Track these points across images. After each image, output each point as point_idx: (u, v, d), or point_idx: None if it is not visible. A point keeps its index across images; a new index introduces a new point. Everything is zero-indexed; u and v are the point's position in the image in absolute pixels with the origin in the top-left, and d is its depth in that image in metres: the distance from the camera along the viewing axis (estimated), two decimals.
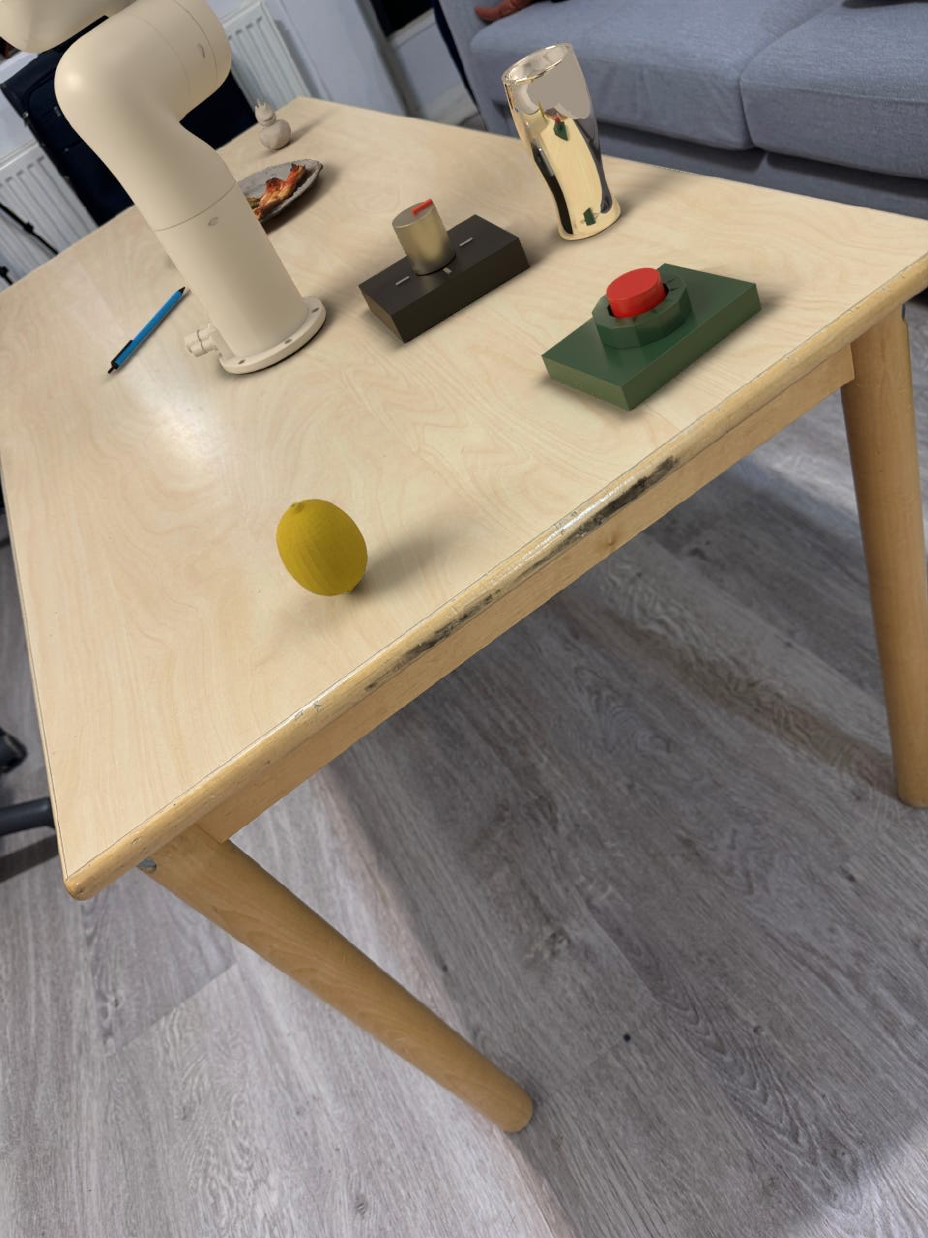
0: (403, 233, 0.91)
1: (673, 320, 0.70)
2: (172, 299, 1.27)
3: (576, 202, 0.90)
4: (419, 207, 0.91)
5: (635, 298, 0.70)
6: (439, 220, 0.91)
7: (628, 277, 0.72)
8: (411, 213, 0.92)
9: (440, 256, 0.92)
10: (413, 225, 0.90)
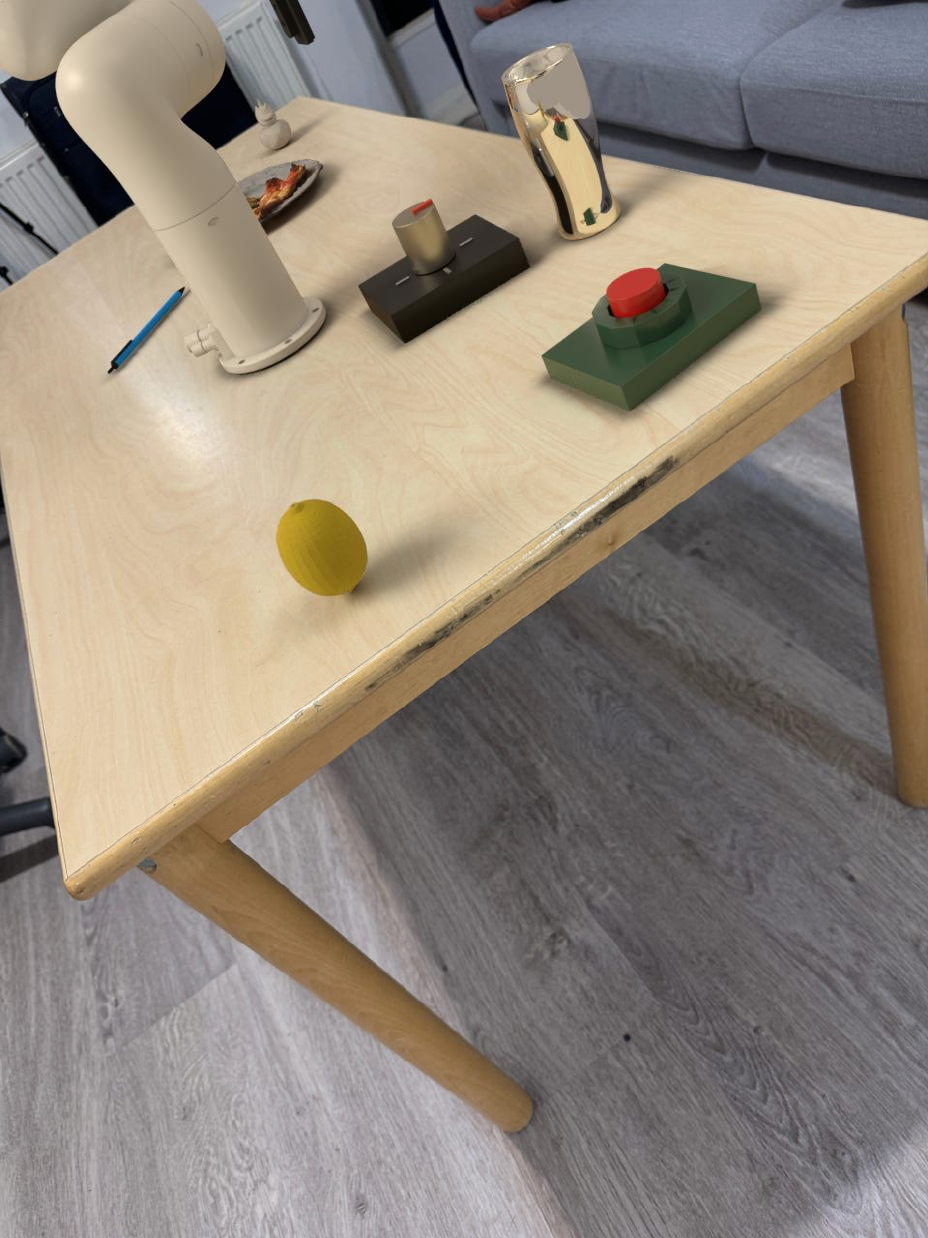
0: (403, 233, 0.91)
1: (673, 320, 0.70)
2: (172, 299, 1.27)
3: (576, 202, 0.90)
4: (419, 207, 0.91)
5: (635, 298, 0.70)
6: (439, 220, 0.91)
7: (628, 277, 0.72)
8: (411, 213, 0.92)
9: (440, 256, 0.92)
10: (413, 225, 0.90)
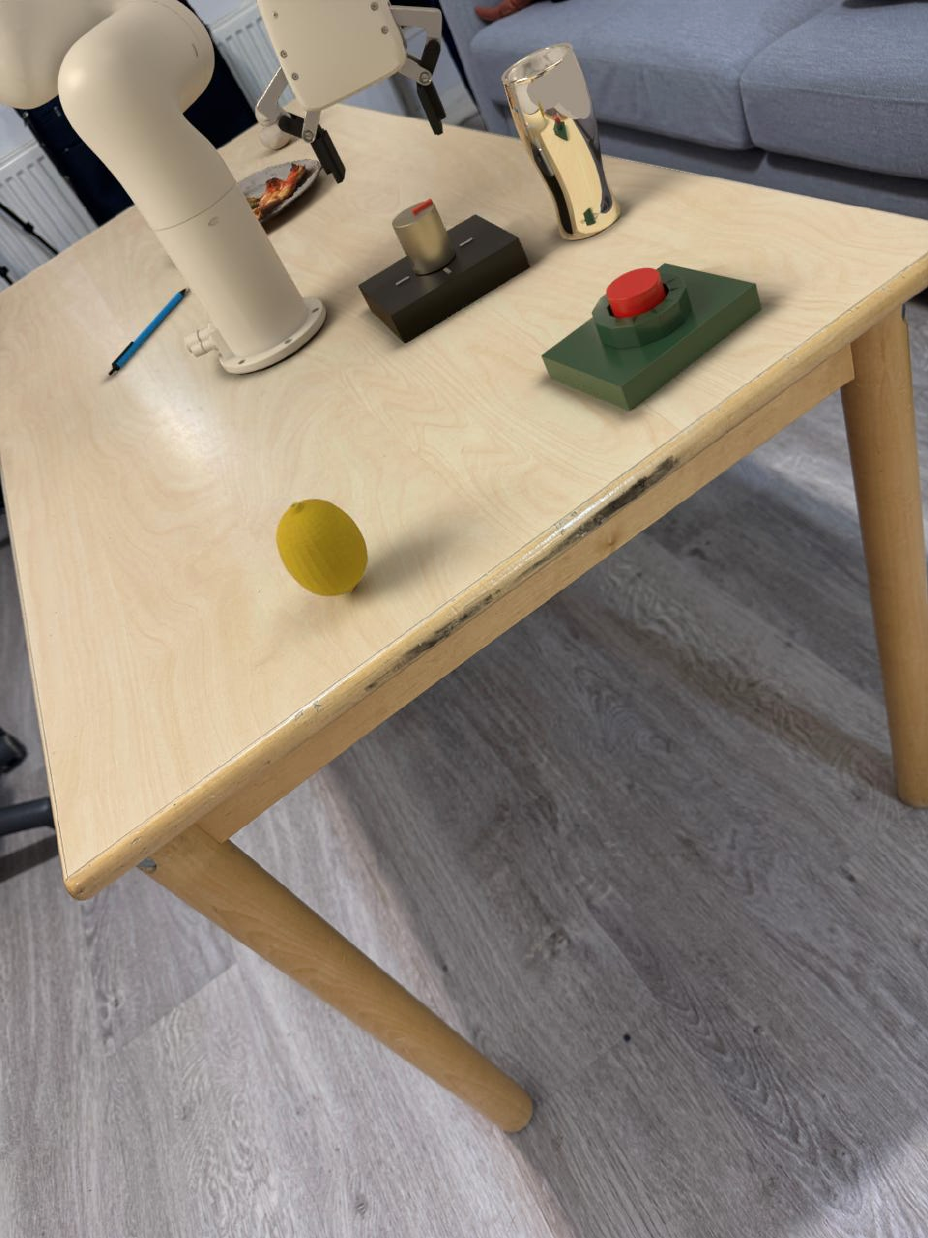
0: (403, 233, 0.91)
1: (673, 320, 0.70)
2: (173, 301, 1.27)
3: (576, 202, 0.90)
4: (419, 207, 0.91)
5: (635, 298, 0.70)
6: (439, 220, 0.91)
7: (628, 277, 0.72)
8: (411, 213, 0.92)
9: (440, 256, 0.92)
10: (413, 225, 0.90)
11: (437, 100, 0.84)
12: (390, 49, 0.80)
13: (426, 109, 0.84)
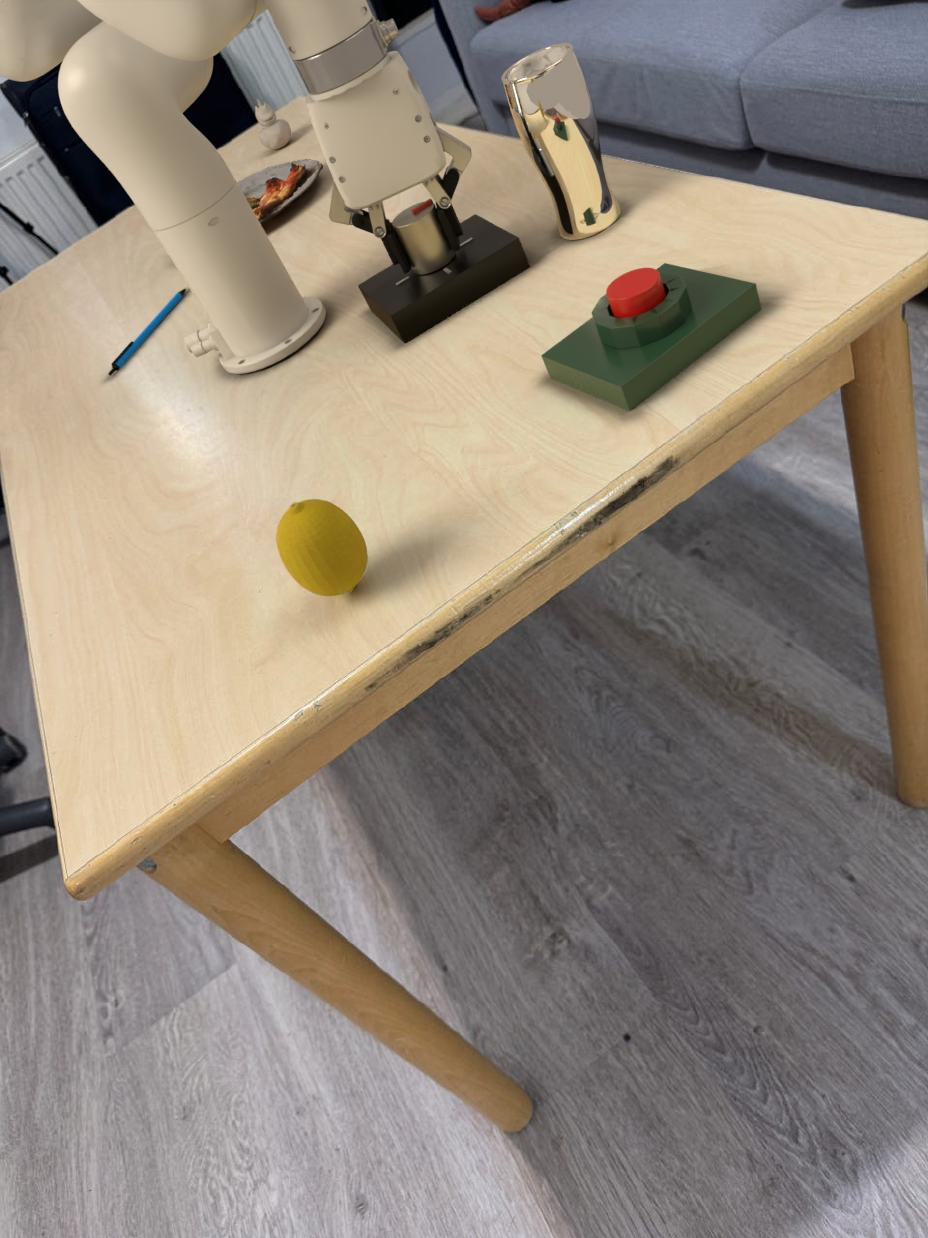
0: (403, 233, 0.91)
1: (673, 320, 0.70)
2: (172, 301, 1.27)
3: (576, 202, 0.90)
4: (419, 207, 0.91)
5: (635, 298, 0.70)
6: None
7: (628, 277, 0.72)
8: (411, 213, 0.92)
9: (440, 256, 0.92)
10: (413, 225, 0.90)
11: (455, 220, 0.91)
12: (431, 156, 0.86)
13: (445, 228, 0.91)
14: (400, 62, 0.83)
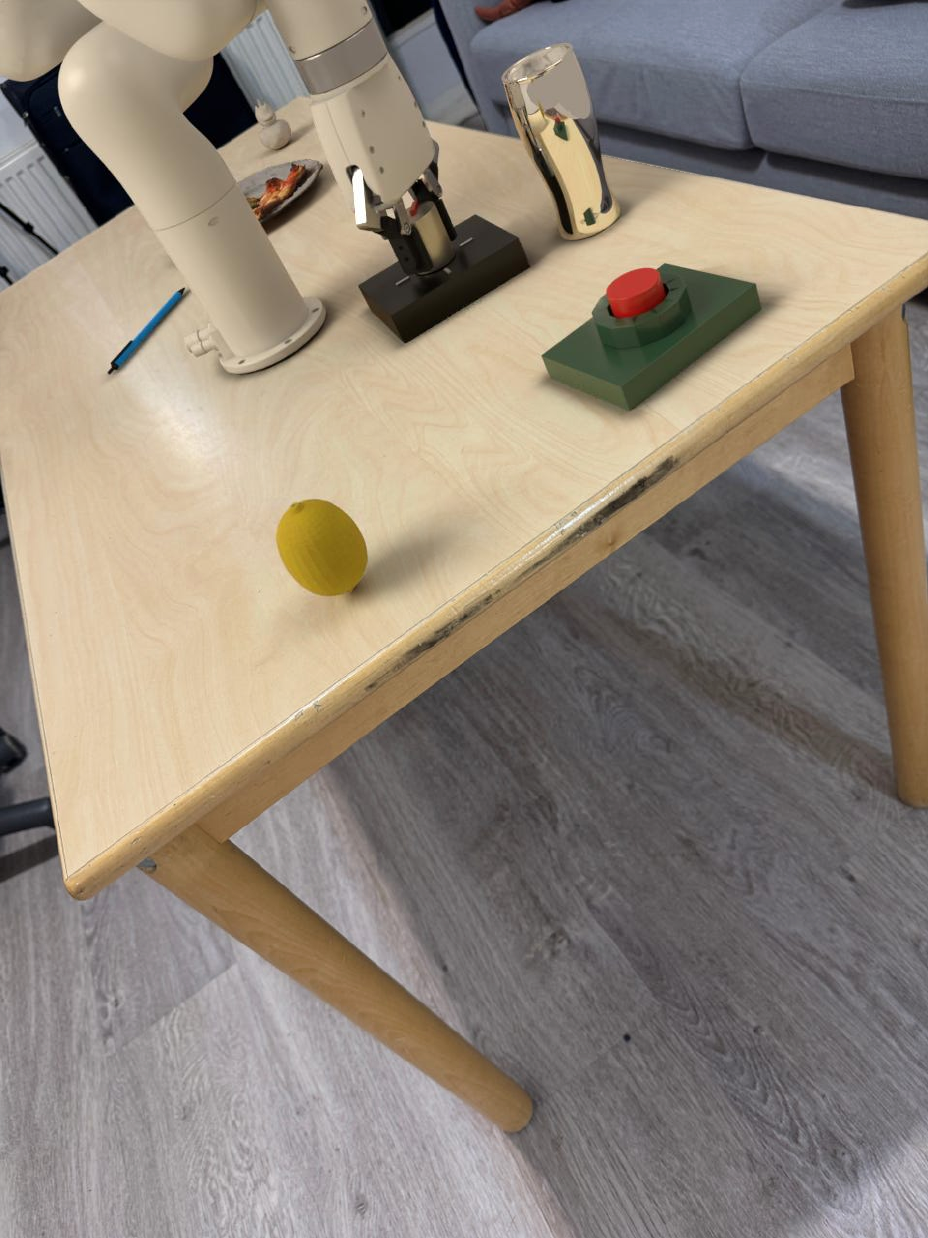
0: (424, 224, 0.90)
1: (673, 320, 0.70)
2: (172, 300, 1.27)
3: (576, 202, 0.90)
4: (415, 206, 0.92)
5: (635, 298, 0.70)
6: None
7: (628, 277, 0.72)
8: (410, 214, 0.91)
9: (451, 243, 0.93)
10: (432, 212, 0.90)
11: None
12: (429, 140, 0.89)
13: (445, 217, 0.93)
14: None
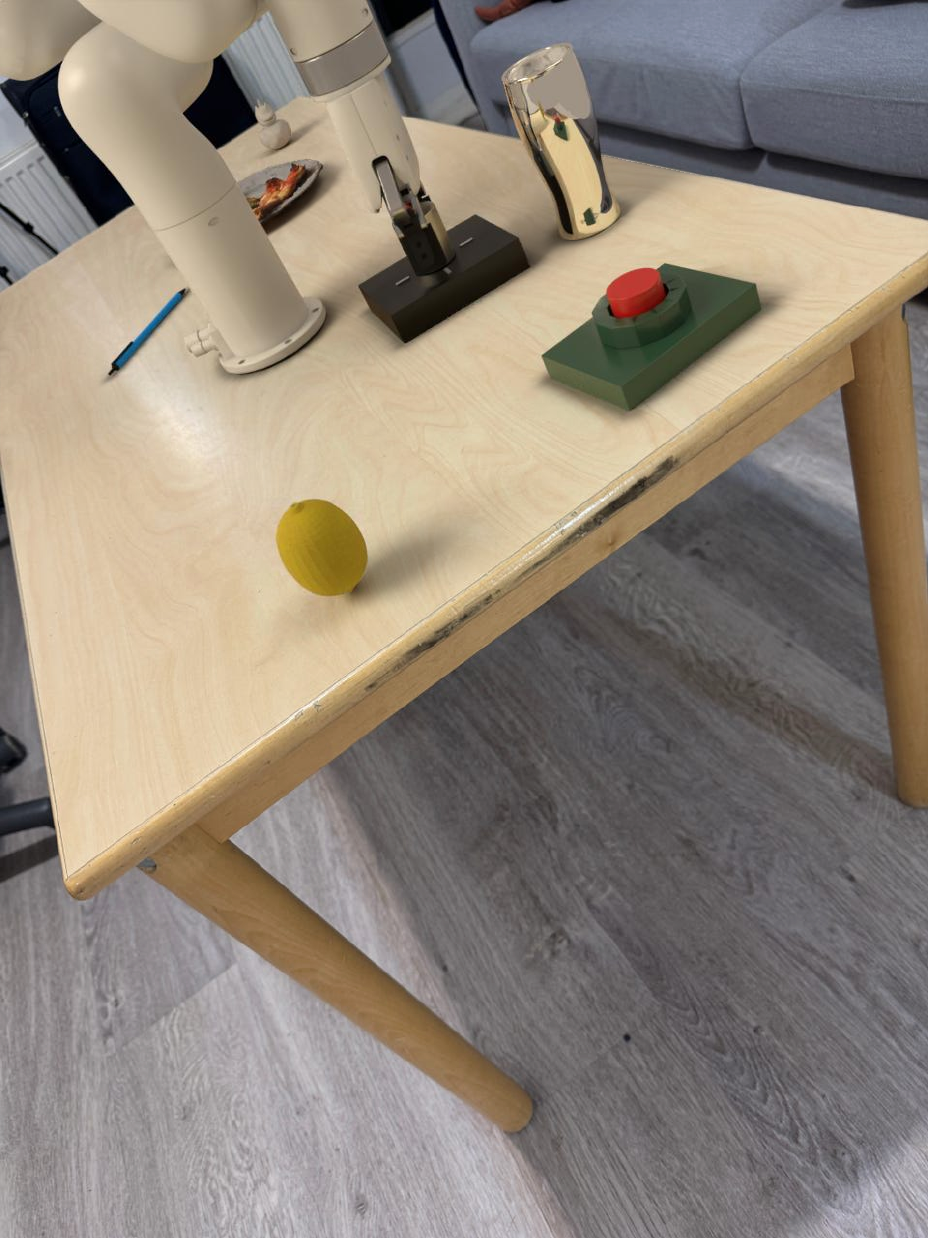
0: (433, 218, 0.90)
1: (673, 320, 0.70)
2: (172, 301, 1.27)
3: (576, 202, 0.90)
4: (411, 208, 0.92)
5: (635, 298, 0.70)
6: None
7: (628, 277, 0.72)
8: None
9: None
10: (435, 207, 0.91)
11: None
12: None
13: None
14: None
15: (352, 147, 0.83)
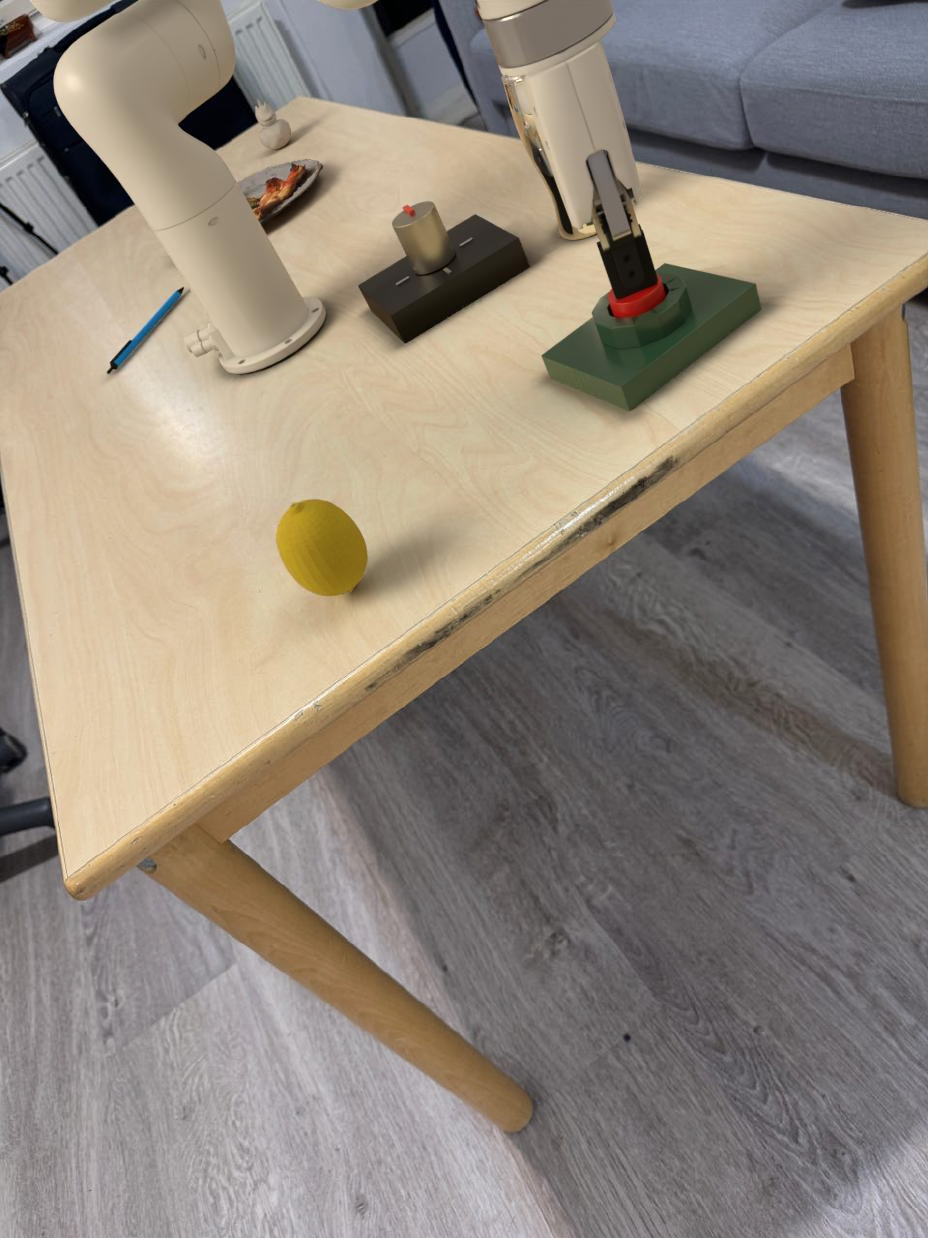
0: (433, 218, 0.90)
1: (673, 320, 0.70)
2: (171, 300, 1.27)
3: None
4: (411, 208, 0.92)
5: (636, 303, 0.70)
6: None
7: None
8: (410, 214, 0.91)
9: None
10: (435, 207, 0.91)
11: None
12: None
13: None
14: None
15: (562, 138, 0.60)
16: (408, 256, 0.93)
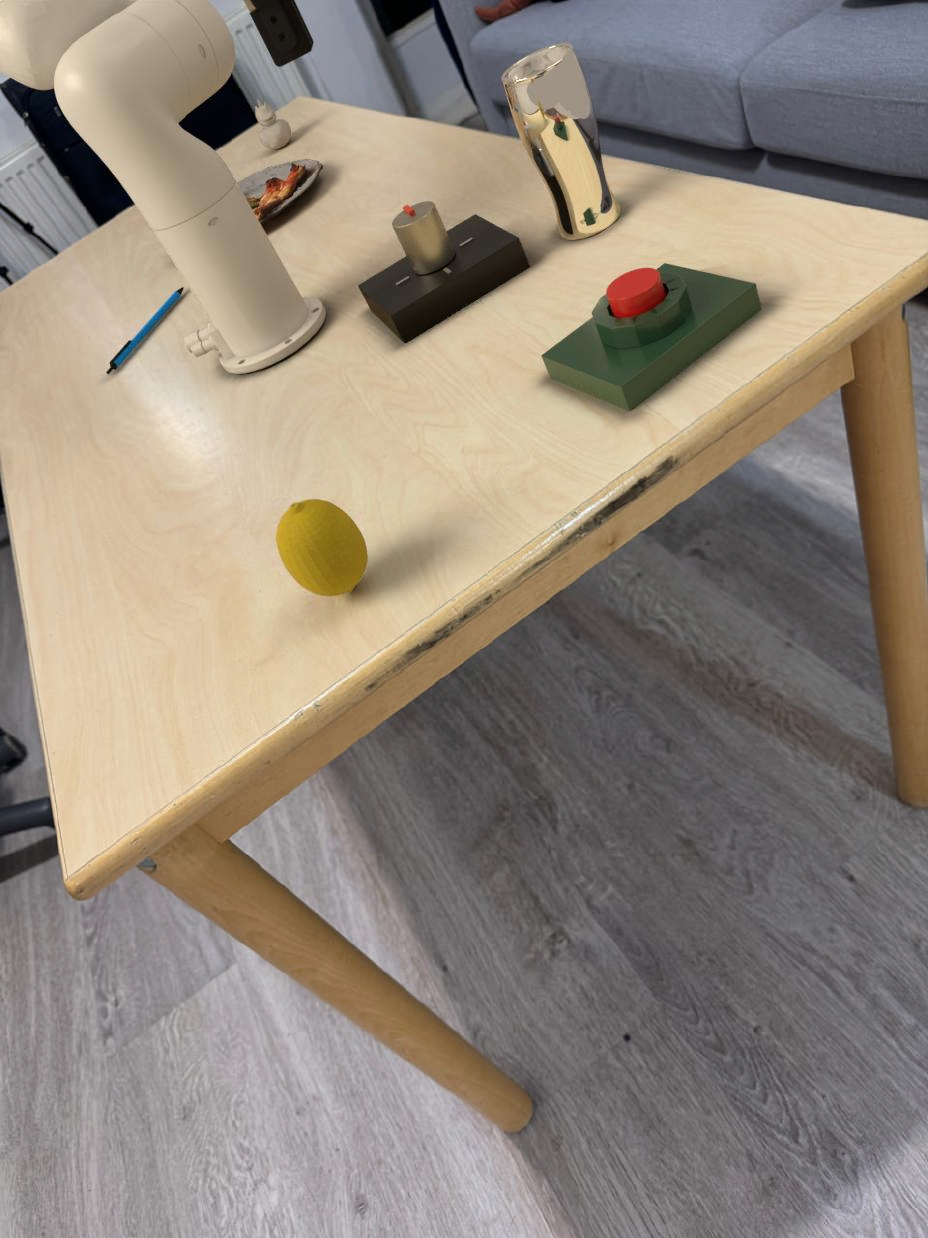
0: (433, 218, 0.90)
1: (673, 320, 0.70)
2: (170, 300, 1.27)
3: (576, 202, 0.90)
4: (411, 208, 0.92)
5: (635, 298, 0.70)
6: None
7: (628, 277, 0.72)
8: (410, 214, 0.91)
9: None
10: (435, 207, 0.91)
11: None
12: None
13: (298, 14, 0.74)
14: None
15: None
16: (408, 256, 0.93)
